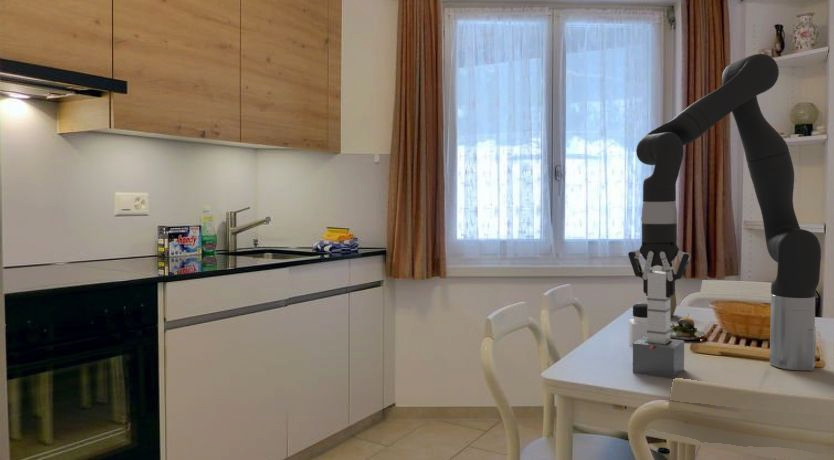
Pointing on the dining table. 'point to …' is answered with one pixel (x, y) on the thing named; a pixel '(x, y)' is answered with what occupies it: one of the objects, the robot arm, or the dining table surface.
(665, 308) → the column
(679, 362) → the sleeve
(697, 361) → the dining table surface
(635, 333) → the medicine bottle
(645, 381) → the dining table surface
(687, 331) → the burger
